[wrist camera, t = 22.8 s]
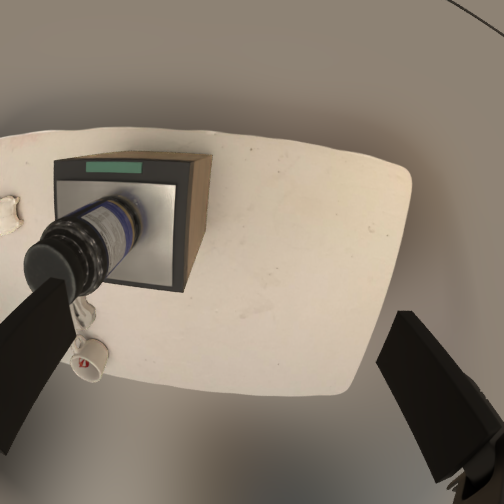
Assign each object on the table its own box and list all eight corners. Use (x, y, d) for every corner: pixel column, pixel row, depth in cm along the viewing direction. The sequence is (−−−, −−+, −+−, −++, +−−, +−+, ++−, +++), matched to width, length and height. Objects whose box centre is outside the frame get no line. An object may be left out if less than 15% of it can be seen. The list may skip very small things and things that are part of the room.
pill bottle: (86, 255, 26) (26, 310, 16) (82, 196, 24) (8, 230, 14) (139, 260, 26) (91, 325, 16) (138, 197, 24) (77, 235, 14)
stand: (212, 155, 44) (194, 161, 27) (205, 231, 49) (187, 282, 31) (126, 150, 43) (65, 158, 25) (124, 223, 48) (71, 266, 30)
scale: (194, 161, 27) (188, 163, 23) (187, 282, 31) (181, 296, 28) (65, 158, 25) (49, 161, 22) (71, 266, 30) (58, 278, 27)
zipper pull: (72, 247, 49) (61, 255, 45) (101, 323, 55) (94, 335, 51) (46, 253, 49) (35, 261, 45) (75, 325, 55) (67, 336, 51)
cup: (71, 329, 56) (56, 349, 48) (93, 321, 55) (78, 343, 47) (95, 362, 59) (84, 384, 52) (118, 357, 59) (107, 380, 51)
